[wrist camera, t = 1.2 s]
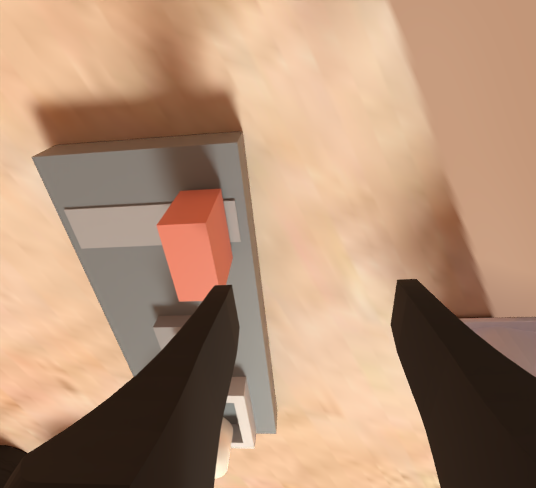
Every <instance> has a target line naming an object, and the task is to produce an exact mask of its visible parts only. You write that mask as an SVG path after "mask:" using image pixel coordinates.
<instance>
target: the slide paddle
mask: <svg viewBox="0 0 536 488" xmlns="http://www.w3.org/2000/svg"><path fill="white" fill-rule="evenodd" d="M156 226H157V229H158V233H159V236H160V239H161V243H162V246H163V249H164V253H165V256H166V259H167V263H168V266H169V269H170V273H171V276H172V279H173V283H174V286H175V290H176V293H177V296H178V300H179V302H181V301H203V300H204V298H205V297H206V296H207V294H208V293H209V292H210V290H211V289H212V288H213V287H214V286H215V285H226V283H227V279H228V275H229V271H230V267H231V263H232V259H233V256H232V250H231V244H230V238H229V232H228V226H227V221H226V215H225V209H224V203H223V197H222V191H221V189H204V190H187V191H180V192H179V193H178V195H177V196H176V198H175V199H174V201H173V202H172V203H171V205H170V206H169V208H168V209H167V211H166V212H165V214H164V215H163V217H162V218H161V219H160V221H159V222H158V224H157V225H156Z"/></svg>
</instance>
